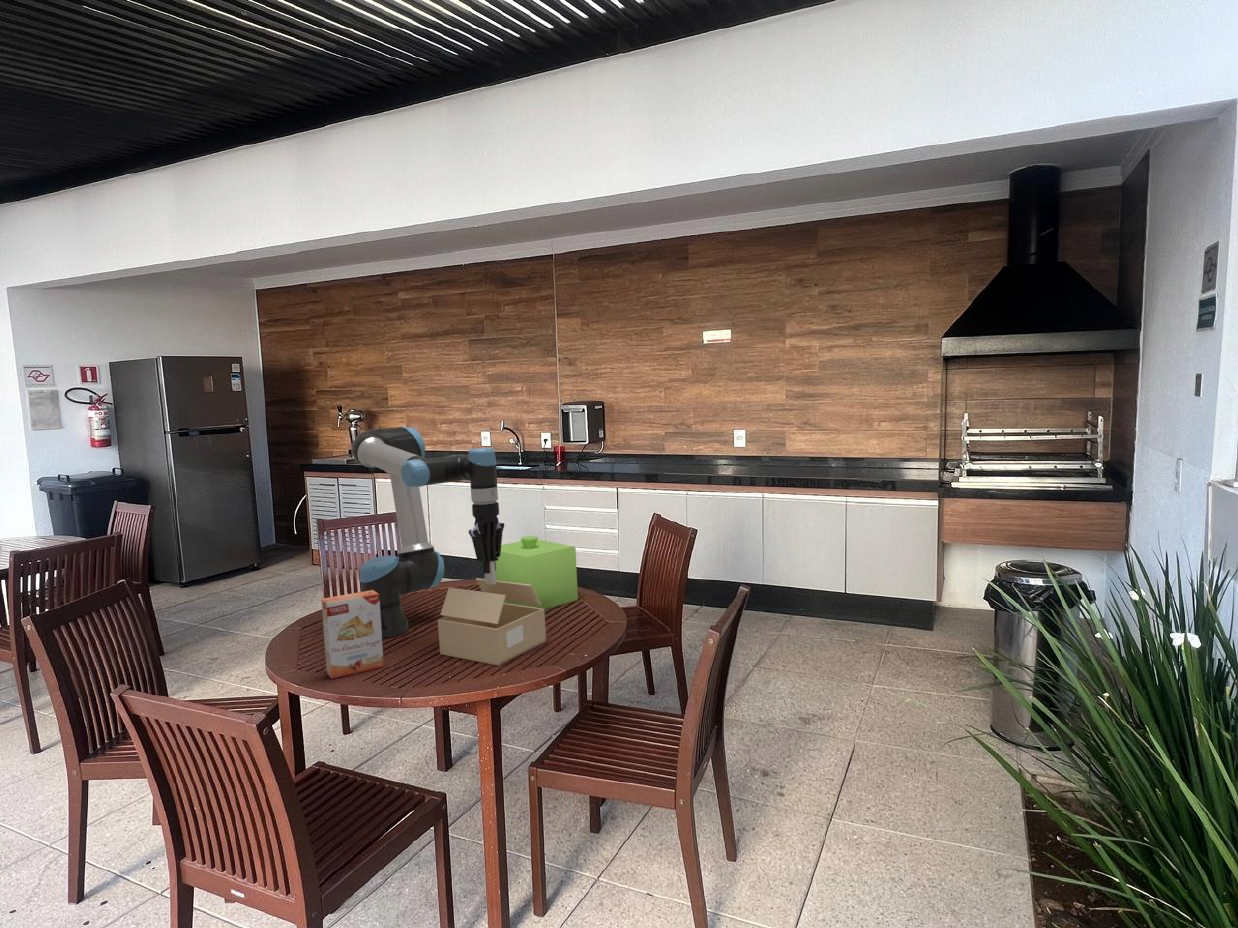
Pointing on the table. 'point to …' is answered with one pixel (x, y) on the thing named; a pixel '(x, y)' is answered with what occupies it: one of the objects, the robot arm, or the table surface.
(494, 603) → the flap
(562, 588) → the canister
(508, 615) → the carton
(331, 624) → the cracker box
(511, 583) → the flap
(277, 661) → the table surface
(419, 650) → the table surface
